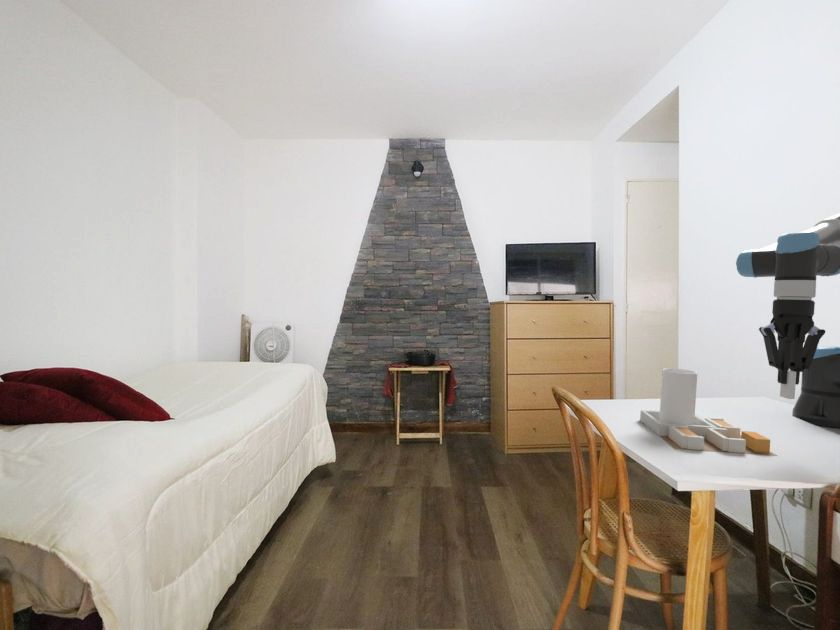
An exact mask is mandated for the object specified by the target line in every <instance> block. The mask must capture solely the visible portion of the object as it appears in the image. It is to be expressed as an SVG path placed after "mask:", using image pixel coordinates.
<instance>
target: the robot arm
mask: <svg viewBox="0 0 840 630" xmlns="http://www.w3.org/2000/svg"><path fill="white" fill-rule="evenodd" d="M776 240H777V241H776V242H775V243H773V244H770V245H768V246H765V247H763V248H759V249H754V248H752V249H750V250H743V251H741V252H740V253H739V255H737V258H736V262H735V265H736V270H737V272H738V274H739V275H740V276H741V277H745V278H754V279H755V278H768V277H769V278H772V277H773V278H774V281H773V282H774V283H773V284H774V285H773V297H775V298H776V299H773V301H772V318H771V320H770V321H769V322H770V323H769V324H768V325H766V326H760V327H759V328H758V331H759V332H760V334H761V335H762V336H763V341H764V346H765V347H764V348H765V351H766V356H767V361H768V366H770V367H772V368H775V369H777V383H778V384H780V391H779V397H781V398H784V399H788V400H795V398H796V397H795V396H796V386H797V385H799V383H800V374H801V388H800V390H801V391H800V394H799V396H798V398H797V400H796V402H795V404H794V407H793V408H792V414H791V417H794V418H796V419H798V420H802V422H803V421H804V422H805V423H809V424H812V425H813V424H814V425H818V426H822V427H829V428H837V429H840V346H818V345H819V344H820V343H819V342H820V340H821V339H822V338H823V337H824V335H825V334H826V330H825V329H824V328H822V329H821V328H819V327H817V326H816V325H815V322H814V319H813V317H814V315H815V305H816V302H815V301H814V300H813V299H814V298H815V297H816V295H817V294H816V293H817V292H816V291H817V276H820V277H832V276H838V275H840V213H838V214H835V215H832V216H829V217H827V218H825V219H823V220H820V221H818V222H817V223H816V224H815V225H814V226H813V227H812V228H810V229H807V230H804V231H799V232H796V231H795V232H787V233H783V234H781V235H779V236H778V238H777V239H776ZM775 334H777V338H776V336H775ZM807 334H808V335H807ZM806 335H807V336H806ZM777 341H778V344H777Z"/></svg>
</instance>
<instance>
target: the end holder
mask: <svg viewBox="0 0 840 630" xmlns="http://www.w3.org/2000/svg"><path fill="white" fill-rule="evenodd" d="M659 417H660V410H647V409H640V418H639V421H640V422H642V423H643V424H646V425H645V426H647V427H648V428H649V429H650V430H651V429H652V430H651V431H653V432H654V433H655V434H656V435H657V434H658V435H657V436H659V435H660V436H669V426H672V425H673V426H687V427H689V430H690V431H692V432H693V433H695V434H696V435H698V436H702V437H704V438H707V428H718V427H716V426H714V425H713V424H711V423H709V422H707V421H706V420H705V418H702V417H700V416H699V415H697V414H695V417H694V425H683V424H666V423H661V422H659ZM660 436H659V437H660Z"/></svg>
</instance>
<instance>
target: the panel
mask: <svg viewBox="0 0 840 630" xmlns="http://www.w3.org/2000/svg"><path fill="white" fill-rule="evenodd" d="M645 426H647V425H646V424H645ZM650 430H651V431H653V430H652V429H650ZM656 435H657V436H658V437H660V438H661V439H662V440H664V442H666V443H667V444H668V445H669V446H671V447H672V448H673V449H674V450H684V451H696V452H697V451H698V452H712V453H713V452H714V453H715V452H716V453H728V454H729V453H731V454H745V455H758V456H759V455H760V456H772V457H773V456H776V457H778V455H777V454H775V453H774V452H773V451H770V452H756V451H754V450H752V449H751V448H749V447H747V446H746V449H745V453H740V452H729V451H723V450H721V449H720V448H718V447H717V446H715V445H714V444H712V443H711V442H709V441H708V440H706V438H704V450H694V449H687V448H681V447H680V446H679V445H678V444H676V443H675V442H674V441H673V440H671V439H670V438H669V436H660V435H658V434H656ZM740 439H741V434H740Z"/></svg>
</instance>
